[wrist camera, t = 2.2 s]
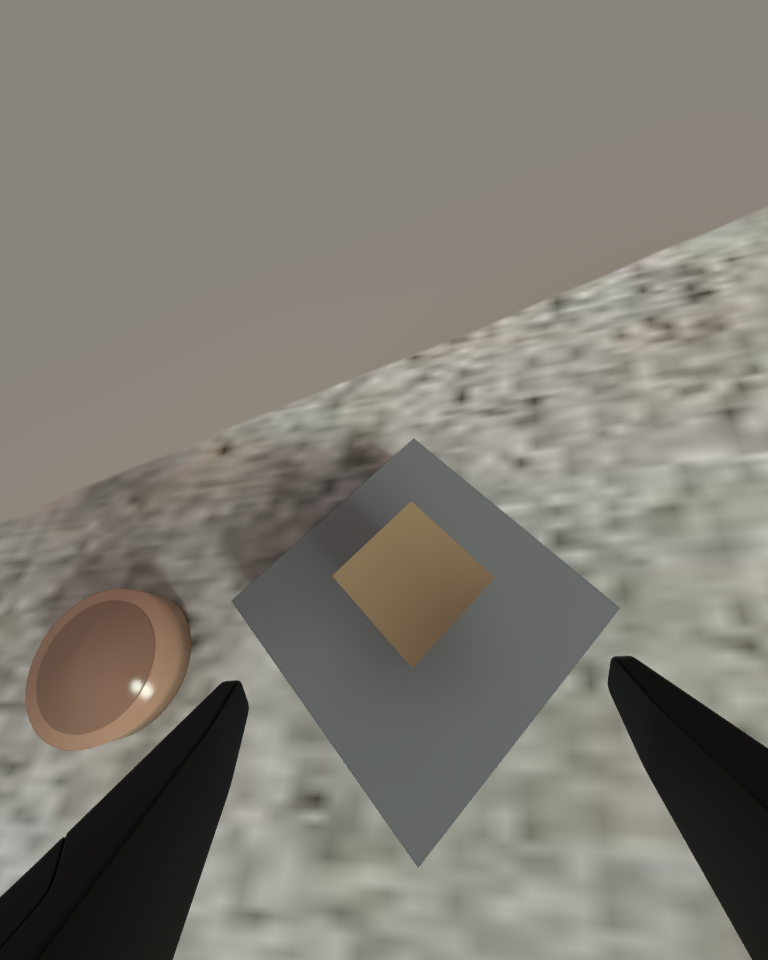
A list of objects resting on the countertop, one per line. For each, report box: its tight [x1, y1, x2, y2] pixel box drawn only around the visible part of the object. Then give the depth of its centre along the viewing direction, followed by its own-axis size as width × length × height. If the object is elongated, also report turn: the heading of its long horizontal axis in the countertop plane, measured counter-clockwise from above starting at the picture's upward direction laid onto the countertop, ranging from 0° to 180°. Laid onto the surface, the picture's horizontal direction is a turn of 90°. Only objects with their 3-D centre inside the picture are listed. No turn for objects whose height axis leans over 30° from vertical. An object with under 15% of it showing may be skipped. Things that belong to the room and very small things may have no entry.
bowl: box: [26, 589, 191, 750], centre depth 19 cm, size 7×7×3 cm
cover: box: [232, 439, 620, 867], centre depth 14 cm, size 12×12×11 cm
